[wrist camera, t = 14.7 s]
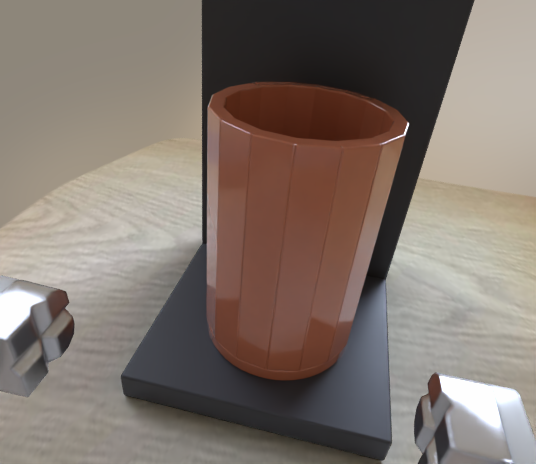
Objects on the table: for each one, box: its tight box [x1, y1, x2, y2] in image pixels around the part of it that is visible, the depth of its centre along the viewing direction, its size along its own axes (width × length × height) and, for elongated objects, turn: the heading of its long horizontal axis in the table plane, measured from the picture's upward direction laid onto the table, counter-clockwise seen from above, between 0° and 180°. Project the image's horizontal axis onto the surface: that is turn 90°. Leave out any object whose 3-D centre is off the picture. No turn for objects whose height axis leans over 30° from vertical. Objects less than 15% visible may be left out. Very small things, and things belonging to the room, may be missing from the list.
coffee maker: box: [121, 0, 474, 460], centre depth 14 cm, size 12×10×24 cm
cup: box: [207, 82, 409, 381], centre depth 16 cm, size 6×6×10 cm
